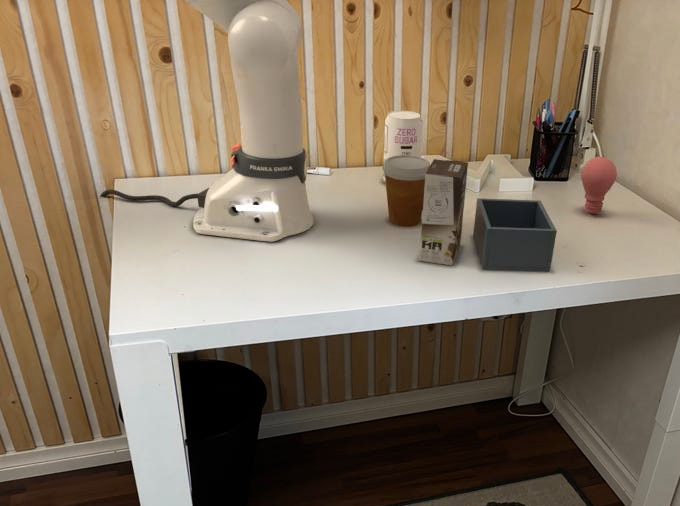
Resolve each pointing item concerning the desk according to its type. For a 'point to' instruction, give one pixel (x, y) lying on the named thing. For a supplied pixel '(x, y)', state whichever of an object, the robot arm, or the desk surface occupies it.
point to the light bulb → (597, 182)
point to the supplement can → (402, 134)
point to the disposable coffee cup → (405, 188)
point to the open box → (513, 235)
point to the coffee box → (443, 211)
